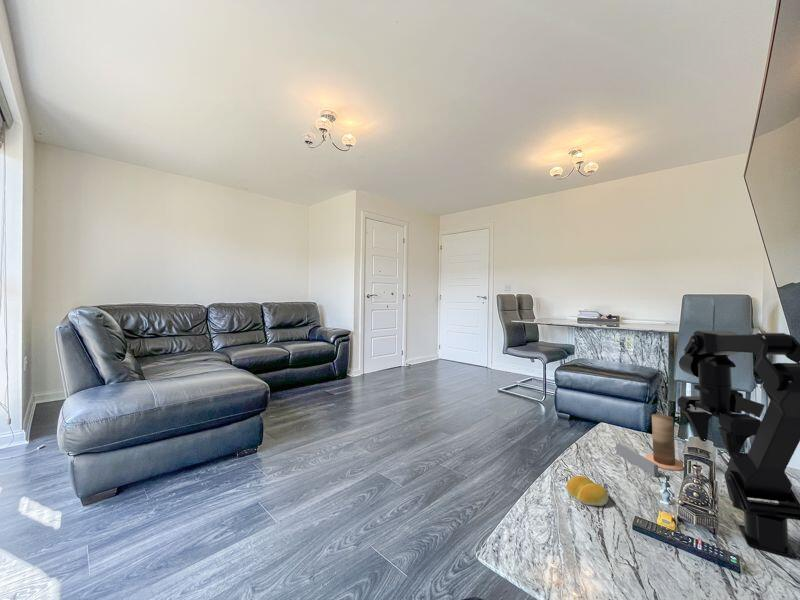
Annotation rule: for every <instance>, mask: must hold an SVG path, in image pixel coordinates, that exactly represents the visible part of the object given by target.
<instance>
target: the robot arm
mask: <svg viewBox="0 0 800 600" xmlns="http://www.w3.org/2000/svg"><path fill="white" fill-rule="evenodd" d="M683 351H684V354H683V355H682V356H681V357H680V358H679V361H678V367H679V368H680V369H681V370H682V371H683V372H684V373H686V374H688V375H691V376H693V377H695V378H698V384H694V385H693V387H694V389H695V390H697V391H698V393H699V395H695V396H693V395H691V396H690V395H681V396H680V397H679V398H677V407H679V408H681V411H682V412H683V414H684V415H685V416H686V418H687V419H688V421H689V422H690V424H691V426H692V428H693V429H694V431H695V432H696V434H697V436H698V437H699V440H700V441H701V442H707V441H708V435H709V425H710V423H709V421H710V419H711V418H712V417H716V418H717V419H718V424H719V425H720V426H718V430H719V432H720V435H721V438H722V441H723V444H724V446H725V449H726V451H727V454H728V456H729V461H728V462H727V463H726V466H727V469H726V471H725V472H724V480H725V484H726V489H727V493H728V497H729V500H730V502H731V503H732V506H733V508H735V509H737V510H740V511H742V512H743V521H744V522H743V523H744V525H741V524H739V525H738V529H739V531H740V533H741V536H742V537H743V539H744V541H745V543H746V544H747V545H748V546H749V547H752V548H756V549H759V550H763V551H766V552H769V553H770V552H771V553H773V554H777V555H781V556H784V557H788V556H789V558H792V557H793V558H792V559H798V554H797V552H795V550H794V548H793V546H791V544H790V543H789V532H788V531H789V529H788V520H795V521H798V522H799V521H800V501H799V500H798V498H797V496H796V494H795V493H794V491H793V489H792V487H793V483H792V481H791V480H790V479H789V477H788V475H787V474H786V469H787V468H788V465H789V463H790V461H791V459H792V457H793V456H794V453H795V451H796V450H797V448H798V445H799V443H800V363H799V361H800V342H799V341H798V340H797V339H796V338H795V337H794V336H792V334H787V333H784V332H757V333H754V334H738V333H737V332H735V331H731V330H695V331H694V332H693V335H691V336H690V338H689V341H688V342H687V344H686V346H685V348H684V349H683ZM739 353H752V354H754V356H755V363H754V366H753V367H754V368H753V369H754V371H755V373H756V374H757V375H758V377H759V378H760V379H761V380H762V385H761V386H762V388H763V390H764V392H765V393H766V395H767V397H768V398H769V402H768V405H767V408H766V410H765V412H764V415H763V417H762V420H760V419H759V418H761V416H762V414H763V411H764V409H765V406H766V405H765V404H763V403H759V402H757V401H754V400H751V399H748V398H745V397H744V394H743V393H742V392H740V391H738V390H737V389H734V388H733V385H732V383H733V381H732V368H736V364H735V362H734V361H732V360H731V359H730V358H729V356H732V355H737V354H739ZM769 355H771V356H773V355H774V356H785V357H786V358H788V360H790V361H792V362H776V363H772V362H771V360H770V359H769V358H768V357H767V356H769ZM793 362H794V363H793ZM742 412H744V413H746V414H744V413H742ZM750 414H751V415H753V416H751V415H750ZM756 417H757V418H756ZM752 436H755V437H754V439H753V441H752V443H751V446H750V448H749V450H748V452H741V450H742V448H743V446H744V445H745V443H746V441H747V440H748V439H749V438H750V437H752ZM704 439H705V440H704ZM706 440H707V441H706ZM748 498H749V499H748ZM763 500H765V501H763ZM767 500H768V501H767ZM772 501H774V502H772Z"/></svg>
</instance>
